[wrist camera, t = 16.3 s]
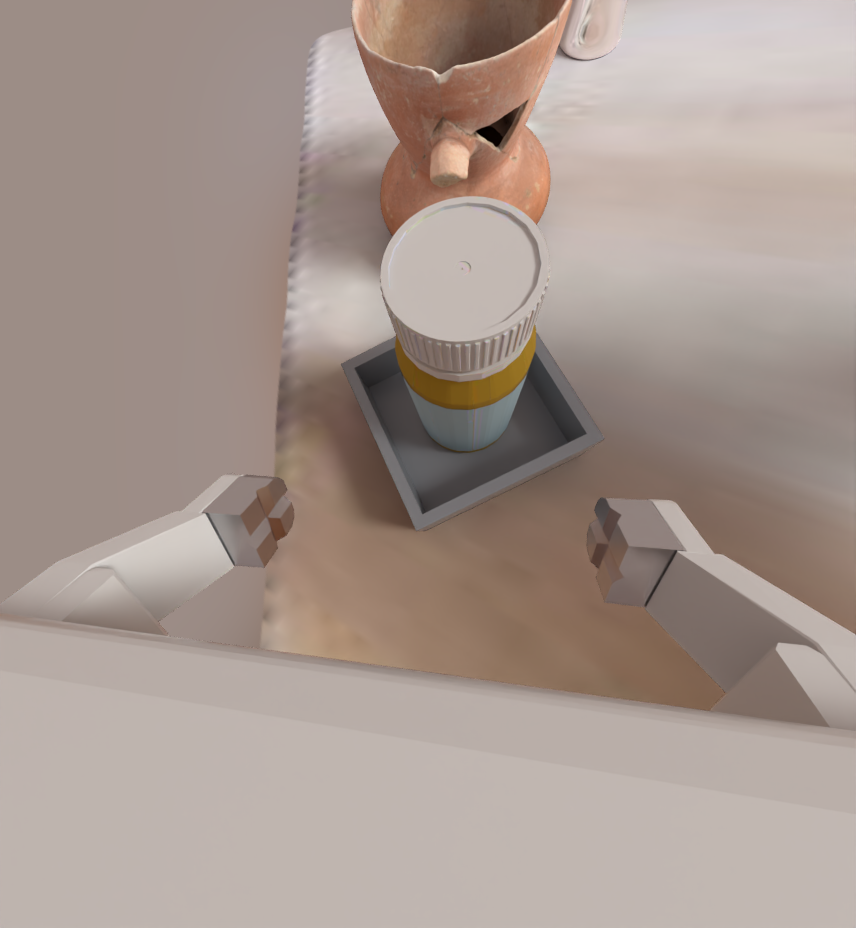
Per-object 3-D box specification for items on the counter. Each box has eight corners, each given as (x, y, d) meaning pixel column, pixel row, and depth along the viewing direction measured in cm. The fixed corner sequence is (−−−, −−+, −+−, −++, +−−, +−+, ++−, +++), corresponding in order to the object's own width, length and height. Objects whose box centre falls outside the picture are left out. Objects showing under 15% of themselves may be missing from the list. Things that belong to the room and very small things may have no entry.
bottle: (520, 441, 25) (592, 320, 11) (433, 464, 26) (388, 377, 11) (496, 362, 27) (529, 163, 12) (413, 385, 27) (352, 218, 13)
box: (581, 454, 26) (604, 438, 21) (425, 531, 26) (416, 530, 22) (498, 320, 29) (503, 282, 24) (360, 389, 29) (340, 364, 25)
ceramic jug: (536, 302, 29) (598, 92, 15) (377, 298, 31) (303, 110, 17) (547, 140, 32) (606, -154, 18) (402, 146, 34) (358, -114, 20)
